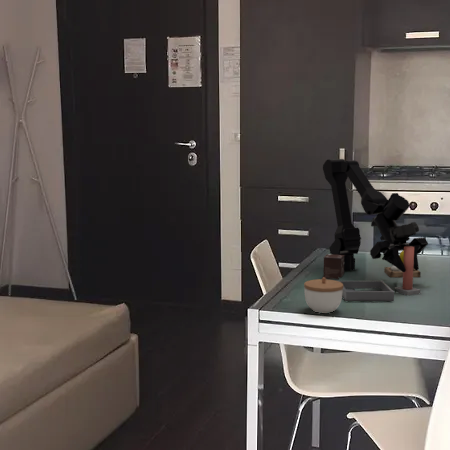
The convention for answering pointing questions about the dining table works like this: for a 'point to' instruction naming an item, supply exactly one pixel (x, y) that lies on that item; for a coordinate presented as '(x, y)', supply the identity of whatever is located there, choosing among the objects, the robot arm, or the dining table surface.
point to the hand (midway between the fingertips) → (411, 270)
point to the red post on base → (408, 273)
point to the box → (333, 266)
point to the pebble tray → (400, 273)
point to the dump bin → (367, 291)
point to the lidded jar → (323, 294)
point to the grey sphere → (394, 269)
